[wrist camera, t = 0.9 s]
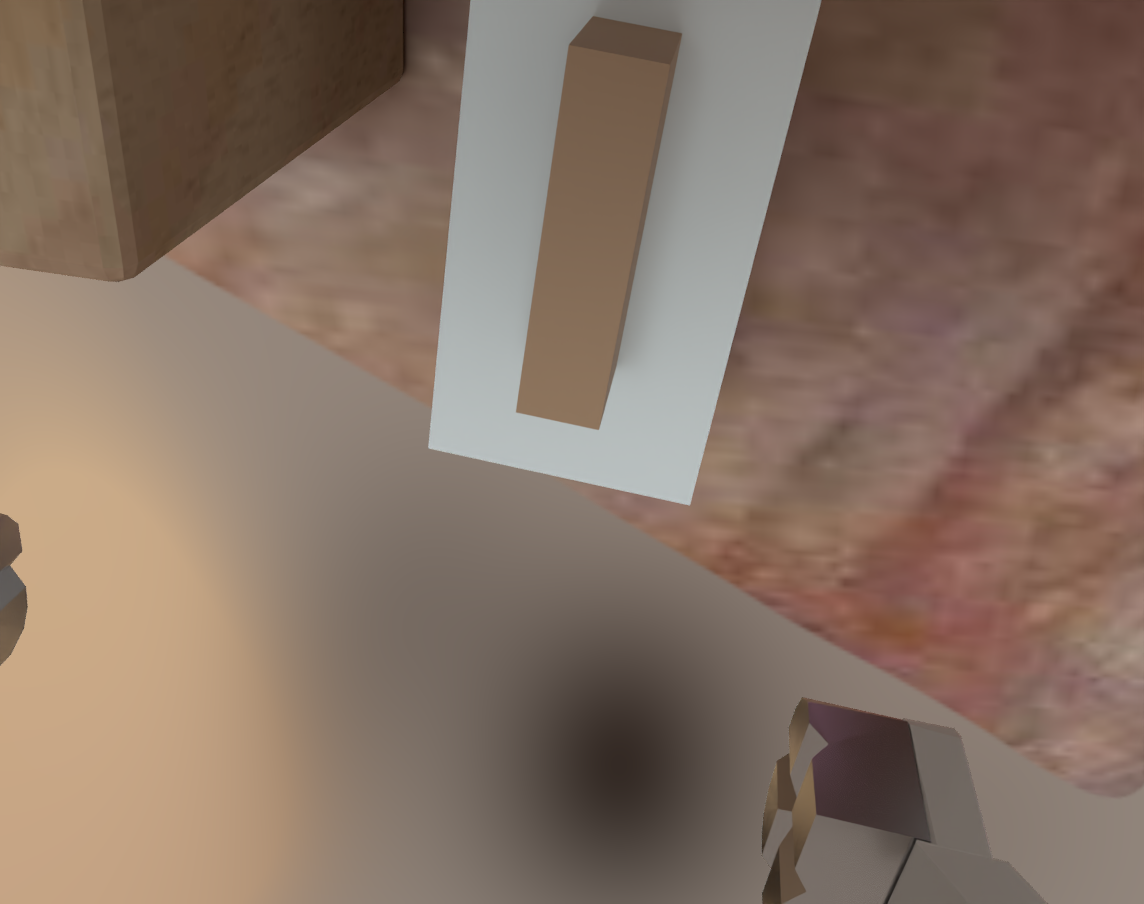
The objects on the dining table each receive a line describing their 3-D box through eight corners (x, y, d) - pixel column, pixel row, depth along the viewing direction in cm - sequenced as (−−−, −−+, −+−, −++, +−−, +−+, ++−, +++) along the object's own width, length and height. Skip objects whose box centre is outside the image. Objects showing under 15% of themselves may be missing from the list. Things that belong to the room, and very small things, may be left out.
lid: (508, -205, 28) (447, -207, 22) (851, -141, 27) (870, -129, 22) (445, 416, 38) (392, 515, 33) (693, 470, 37) (681, 578, 32)
